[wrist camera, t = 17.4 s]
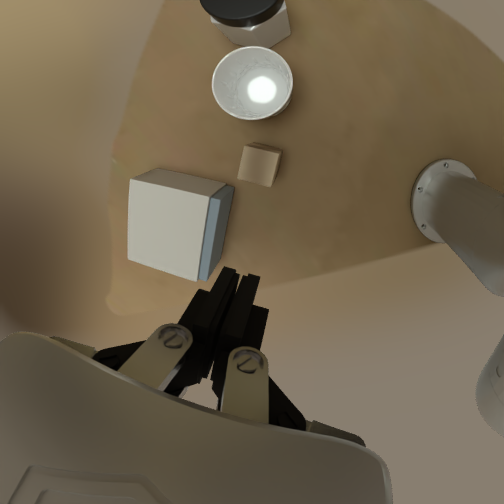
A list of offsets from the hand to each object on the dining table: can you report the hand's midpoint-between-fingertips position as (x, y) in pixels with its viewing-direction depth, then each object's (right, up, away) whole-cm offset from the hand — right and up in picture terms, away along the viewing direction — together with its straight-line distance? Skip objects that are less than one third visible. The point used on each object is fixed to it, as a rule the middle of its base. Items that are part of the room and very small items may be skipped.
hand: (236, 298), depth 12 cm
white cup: (+2, +23, +19) cm, 30 cm away
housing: (-9, +8, +29) cm, 31 cm away
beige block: (+2, +14, +23) cm, 27 cm away
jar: (+2, +32, +15) cm, 35 cm away
